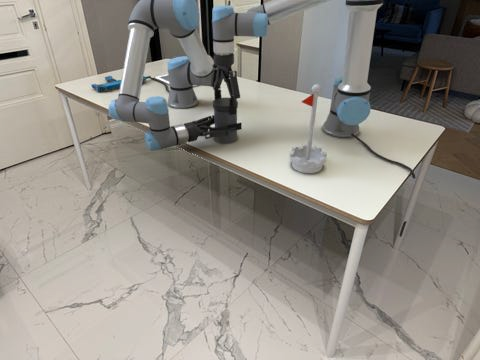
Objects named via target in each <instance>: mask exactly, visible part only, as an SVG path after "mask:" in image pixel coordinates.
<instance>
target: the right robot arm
mask: <svg viewBox="0 0 480 360" xmlns="http://www.w3.org/2000/svg"><path fill="white" fill-rule="evenodd" d="M329 1H331V0H269V1H266V2H265V3H263V4H260V5H258V6H253V7H251V8H249V9H248V10H247V11H246V12H235V10H234V6H231V5H216V6H213V7H212V14H211V15H212V19H211V24H212V25H211V26H212V44H213V45H212V46H213V53H214V54H213V61H214V64H213V72H212V80H211V87H210V88H212V89H213V91H214V92H213V93H214V96H213V97H214V100H215V99H218V98H222V87H221V86H222V83H223V81H224V83H225V84H226V87H227V91H228V94H229V97H228V98H229V107H230V115H234V114H236V106H237V101H238V99H240V98H241V93H240V88H239V87H240V86H239V82H238V72H237V70H233V69H232V66H233V65H234V64H235V54H234V52H235V37H248V38H249V37H254V38H260V37H261V38H262V37H263V38H265V37H266V36H267V35H268V26H270V25H272V24H274V23H275V24H276V22H279V21H282V20H284V19H287V18H290V17H293V16H295V15H297V14H299V13H303V12H305V11H307V10H310V9H313V8H315V7H317V6H319V5H322V4H324V3H327V2H329ZM383 5H384V0H345V5H344V6H345V8H347V9H348V11H349V14H348V21H347V22H348V23H347V33H346V34H347V35H346V43H345V52H344V53H345V55H344V64H343V75H342V76H341V77H337V78H335V79H334V82H333V85H332V87H333V88H332V93H331V101H330V107H329V112H328V115H327V117H326V120H325V121H324V123H323V126H322V130H323V132H324V133H325V134H326V135H329V136H332V137H335V138H339V139H341V138H342V139H349V138H354V139H355V140H356V141H358V142H360V143H361V144H362V146H364V147H365V148H366V149H367V150H368V151H369V152H370V153H371V154H372V155H374V156H376V157H377V158H379V159H381V160H383V161H385V162H388V163H390V164H395V165H398V166H400V167H402V168H404V169H406V170H408V171H409V173H410V174H411V178H413V179H416V174H415V172H414V170H413V169H412V168H411V167H409V166H408V165H406V164H404V163H402V162H399V161H396V160H392V159H389V158H387V157H385V156H383V155H381V154H379V153H377V152H376V151H374V150H373V149H372V148H371V147H370V145H368V144H367V143H365V141H363V140H362V139H361V138H359V137H358V136H357V135H359V132H360V125H359V124H362V123H363V122H365V121H366V120H367V119H368V117H369V116H370V114H371V103H370V95H371V89H372V86H371V85H370V84H369V83H368V78H369V71H370V63H371V57H372V49H373V41H374V34H375V27H376V19H377V12H378V9H380V8H381V7H382V6H383ZM407 222H408V221H407V220H405V221H403V223H402V226H401V228H400V232H399V234H398V235H399V237H400V238H402V237H403V234H404V230H405V228H406V225H407Z"/></svg>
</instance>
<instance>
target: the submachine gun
mask: <svg viewBox="0 0 480 360" xmlns="http://www.w3.org/2000/svg"><path fill="white" fill-rule="evenodd" d="M150 78H152V76H151V75H147V76H145V75H144V76H143V81H142V83H145V82H146V81H147V79H150ZM104 80H105V81H106V82H105V83H100V84H97V83H91V84H90V85H91V88H92V89H93V90H95V91H96V92H103V91H109V92H111V91H112V89H117V88H120V85H121V79H118V80H117V79H115V78H113V76H112V75H108V76H105V77H104Z"/></svg>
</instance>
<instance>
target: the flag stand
mask: <svg viewBox="0 0 480 360" xmlns="http://www.w3.org/2000/svg"><path fill="white" fill-rule="evenodd" d="M321 91H322V86H321V85H320V84H318V83H316V84H313V85H312V86H311V92H312V94H310V95H309V96H308V97H306V98H305V99H303V100H302V101H301V103H303V104H305V105H307V106H309V107H311V108H310V109H311V110H310V117H309V125H308V126H309V127H308V135H307V143H304V144H302V146H301V147H299V146H298V145H294V146H293V147H292V148H291V150H290V151H289V160H290V161H291V167H292V168H293V169H294V170H295V171H297V172H299V173H303V174H315V173H318V172H320V171H321V170H323V165H325V163H326V162H327V157H328V153H327V151H326V150H323V148H322V147H320V146H319V145H315V146H314V147H312V146H313V139H314V130H315V121H316V115H317V107H318V98H319V94H320V92H321Z"/></svg>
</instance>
